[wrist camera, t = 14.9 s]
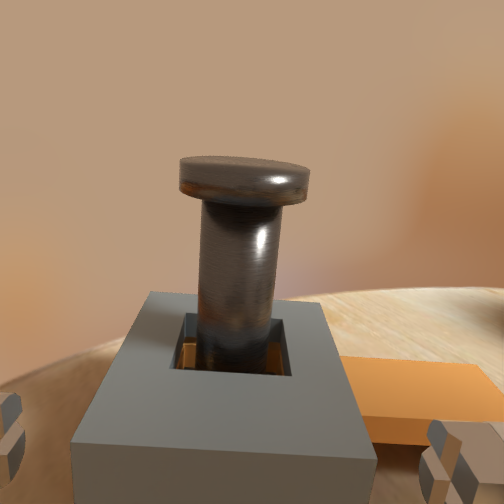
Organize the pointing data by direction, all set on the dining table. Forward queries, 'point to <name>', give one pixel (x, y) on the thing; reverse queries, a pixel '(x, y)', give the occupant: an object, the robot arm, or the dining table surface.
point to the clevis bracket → (257, 415)
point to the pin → (238, 254)
